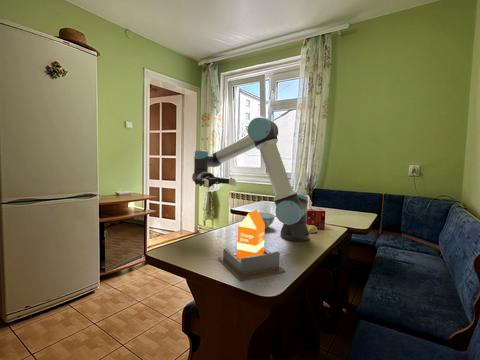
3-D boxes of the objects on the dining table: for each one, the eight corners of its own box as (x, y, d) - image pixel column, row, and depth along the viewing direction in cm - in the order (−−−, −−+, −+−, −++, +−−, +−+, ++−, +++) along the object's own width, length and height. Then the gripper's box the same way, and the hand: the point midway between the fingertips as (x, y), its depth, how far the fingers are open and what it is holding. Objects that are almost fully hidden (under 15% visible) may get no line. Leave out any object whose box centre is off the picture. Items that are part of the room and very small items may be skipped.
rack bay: (218, 259, 101) (218, 242, 100) (256, 253, 109) (257, 237, 108) (240, 281, 83) (241, 261, 82) (284, 272, 91) (285, 254, 91)
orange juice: (236, 264, 94) (238, 211, 92) (245, 256, 102) (247, 208, 100) (255, 269, 90) (258, 214, 89) (263, 260, 98) (266, 210, 97)
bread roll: (303, 228, 154) (303, 222, 154) (318, 231, 149) (318, 224, 149) (299, 231, 147) (299, 224, 147) (314, 234, 142) (314, 227, 142)
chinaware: (278, 226, 155) (278, 214, 154) (268, 232, 142) (268, 218, 141) (256, 223, 163) (256, 211, 162) (245, 227, 150) (245, 215, 149)
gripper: (227, 186, 139) (245, 190, 120) (183, 186, 128) (195, 191, 109) (228, 172, 139) (246, 175, 120) (183, 172, 127) (195, 174, 109)
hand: (221, 183), depth 114 cm, fingers open, 13 cm apart
